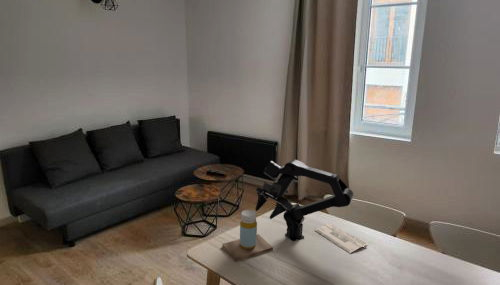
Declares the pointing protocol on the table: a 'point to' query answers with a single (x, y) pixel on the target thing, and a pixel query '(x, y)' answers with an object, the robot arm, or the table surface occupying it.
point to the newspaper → (340, 238)
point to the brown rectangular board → (241, 253)
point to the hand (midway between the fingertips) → (262, 214)
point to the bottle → (248, 229)
